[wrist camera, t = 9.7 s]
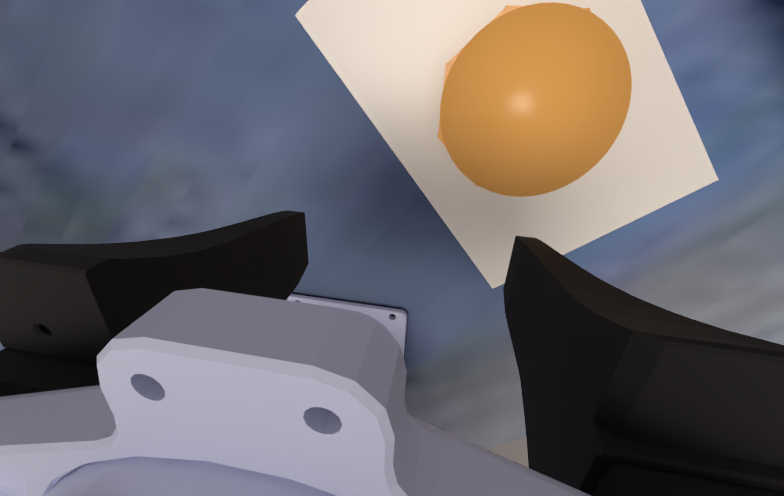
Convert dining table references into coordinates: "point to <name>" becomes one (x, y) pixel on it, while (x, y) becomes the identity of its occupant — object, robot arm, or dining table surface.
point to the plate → (432, 161)
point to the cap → (535, 99)
